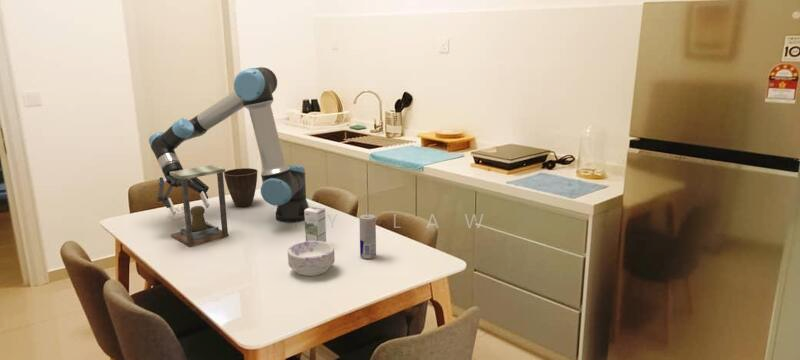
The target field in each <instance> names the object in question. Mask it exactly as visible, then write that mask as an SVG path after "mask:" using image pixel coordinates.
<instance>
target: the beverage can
mask: <svg viewBox="0 0 800 360" xmlns="http://www.w3.org/2000/svg"><path fill="white" fill-rule="evenodd" d="M376 224H377V221H376V215H374V214H369V213H368V214H361V215H359V256H360V258H362V259H365V260H371V259H374V258H376V256H377V232H376V231H377V230H376V229H377V227H376V226H377V225H376Z"/></svg>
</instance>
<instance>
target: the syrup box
mask: <svg viewBox="0 0 800 360" xmlns="http://www.w3.org/2000/svg"><path fill="white" fill-rule="evenodd" d="M304 215H305V221H304V229H305V230H304V231H305V241H323V242H327V228H326V227H327V226H326V225H327V224H326V208H325V207H320V206H314V205H313V206H309V208H307V209H305V210H304Z"/></svg>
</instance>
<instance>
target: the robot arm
mask: <svg viewBox="0 0 800 360" xmlns="http://www.w3.org/2000/svg"><path fill="white" fill-rule="evenodd" d="M233 81H234V82H233V90H234V91H232V92H230V93H229V94H227V95H226V96H225V97H223V98H222V99H220V100H218V101H216V103H213V104H212V105H211V106H209V107H208V108H206V109H205V110H203V111H202V112H200V113H198V114H197V115H196V116H194V117H192V118H191V119H186V118H183V117H182V118H179V119H178V120H176V121H174V122H173V124H172V125H171V126H170V127H168V128H167V130H165V131H158V132H156V133H154V134H151V136H149V138H148V143H149V146H150V149H151V151H152V152H153V154H154V156H155V158H156V160H157V162H158V166H159V167H160V170H162V171H161V172H162V174H163V176H164V177H162V176H161V177H159V179H158V185H159V187H158V195H157V202H162V203H163V204H164V206H165V207H166V208H167V209H169V211H170V213H171V215H172V217H174V216H175V215H176V213H177V210H176V207H175V205H174V203H173V202H172V199H171V197H169V196H170V194H171V191H172V189H173V187H175V188H179V187H182V186H181V179H178V178H176V177H173V176H171V175H170V172H172V171H178V170H184V168H183V166H182V164H181V161H180V159H179V157H178V156H177V154H176V151H175V149H177V148H178V147H179V146H180V145H182V143H184V142H186V141H189V140H191V139H194V138H197V137H201V136H204V134H207V132H208V131H209V130H210V129H212V128H213V127H215V126H217V125H219V124H220V123H222V122H223V121H225V120H226V119H228V118H230V117H231V116H232V115H234V114H235V113H237V112H239V111H240V110H242V109H244V108H245V109H247V110H248V112H249V116H250V120H251V125H252V129H253V132H254V136H255V139H256V141H255V142H256V144H257V149H258V151H259V156H260V160H261V164H262V168H263V170H262V171H261V174H260V175H261V179H262V184H261V187H260V194H261V197H262V199H263V200H264V201H265V202H266V203H268V204H269V205H271V206H274V207H275V206H276V211H275V212H274V213H275V220H276V221H278V222H280V223H286V224H287V223H289V224H291V223H300V222H305V215H304V210H305V209H307V208H309V207H310V205H309V202H308V201H307V189H306V188H307V187H306V186H307V185H306V171H305V169H306V168H305V167H304V166H303V165H299V164H286V163H285V159H284V154H283V150H282V146H281V142H280V138H279V134H278V130H277V125H276V122H275V117H274V113H273V109H272V104H273V102H274V97H273V93H275V91H277V87H278V78H277V76H276V73H274V72H273V71H272V69H270V68H268V67H261V66H259V67H250V68H246V69H242V71H240V72H238V73H237V75H236V77H235V78H234V80H233ZM166 183H167V184H169V186H168V189H167V190H166V191H165V192H166V193H165V194H163V193H164V187H165V186H164V185H165V184H166ZM187 184H188V188H189V189H192V190H193V191H195V192H197V193H198V194H199V196H200V198H201V201H202V203H203V205H204V206H205V208H206V209H209V206H210V204H211V203H210V202H209V195H208V193H207V192H208V190H209V189H210V187H209V186H208V185H207V184H205V183H204V182H203V181H202V180H201V179H199V178H198V177H194V178H188V179H187ZM163 195H164V196H163Z"/></svg>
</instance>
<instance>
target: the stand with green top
mask: <svg viewBox="0 0 800 360" xmlns="http://www.w3.org/2000/svg"><path fill="white" fill-rule="evenodd" d="M224 172H226V168H224V167H220V166H217V165H214V164H210V165H203V166H198V167H191V168H186V169H184V168H183V170H178V171H172V172H170V175H171V176H173V177H176V178H178V179H181V186H180V187H181V194H182V203H183V205H182V206H183V214H184V221H185V222H184V223H185V226H182V227H180V228H179V231H177V232H173V233H170V236H171V238H173V239H174V240H176V241H177V242H179V243H182V244H183V245H184V246H186V247H188V248H192V247H195V246H199V245H202V244H206V242H207V243H210V242H214V241H218V240H221V239H222V240H223V239H225V238H229V237H230V235H229V231H228V229H229V227H228V218H227V208H226V192H225V183H224V181H225V180H224ZM210 175H216V177H217V189H218V200H219V211H220V223H221V224H220V225H221V229H220V228H219V226H215V225H213V224H211V223H209V222H208V221H205V223H206V227H207V229H206V230H202V231H198V232H192V215H191V212H190V210H191V208H190V207H191V206H190V197H189V187H188V184H187V179H189V178H194V177H197V178H198V177H204V176H210Z"/></svg>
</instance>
